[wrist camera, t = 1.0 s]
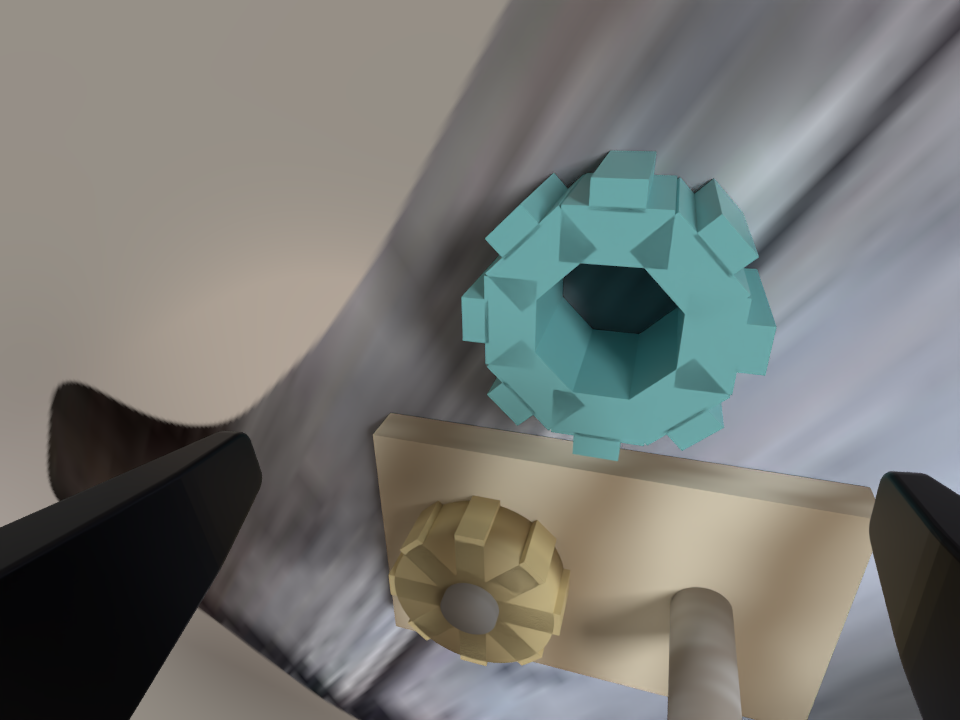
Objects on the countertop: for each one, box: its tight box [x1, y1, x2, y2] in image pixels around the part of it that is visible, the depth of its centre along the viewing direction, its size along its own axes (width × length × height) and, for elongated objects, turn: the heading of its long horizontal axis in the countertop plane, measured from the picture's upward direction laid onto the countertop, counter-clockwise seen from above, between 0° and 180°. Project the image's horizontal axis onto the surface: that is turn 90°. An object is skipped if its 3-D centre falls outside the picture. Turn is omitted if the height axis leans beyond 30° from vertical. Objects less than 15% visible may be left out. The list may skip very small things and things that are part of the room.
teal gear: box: [461, 150, 776, 461], centre depth 16 cm, size 7×7×4 cm
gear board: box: [373, 413, 875, 720], centre depth 20 cm, size 16×10×6 cm, turn 91°
